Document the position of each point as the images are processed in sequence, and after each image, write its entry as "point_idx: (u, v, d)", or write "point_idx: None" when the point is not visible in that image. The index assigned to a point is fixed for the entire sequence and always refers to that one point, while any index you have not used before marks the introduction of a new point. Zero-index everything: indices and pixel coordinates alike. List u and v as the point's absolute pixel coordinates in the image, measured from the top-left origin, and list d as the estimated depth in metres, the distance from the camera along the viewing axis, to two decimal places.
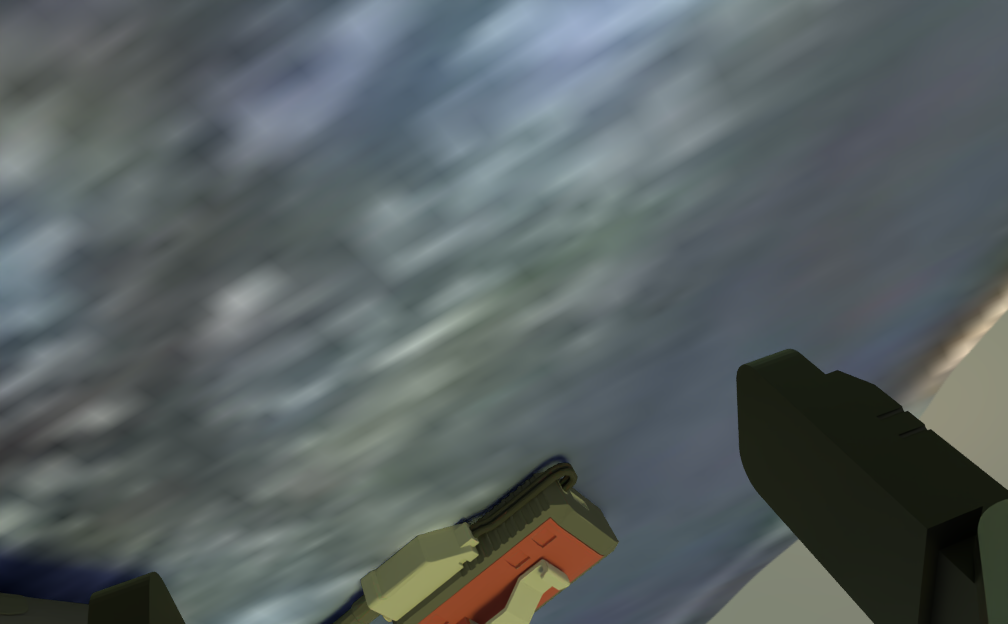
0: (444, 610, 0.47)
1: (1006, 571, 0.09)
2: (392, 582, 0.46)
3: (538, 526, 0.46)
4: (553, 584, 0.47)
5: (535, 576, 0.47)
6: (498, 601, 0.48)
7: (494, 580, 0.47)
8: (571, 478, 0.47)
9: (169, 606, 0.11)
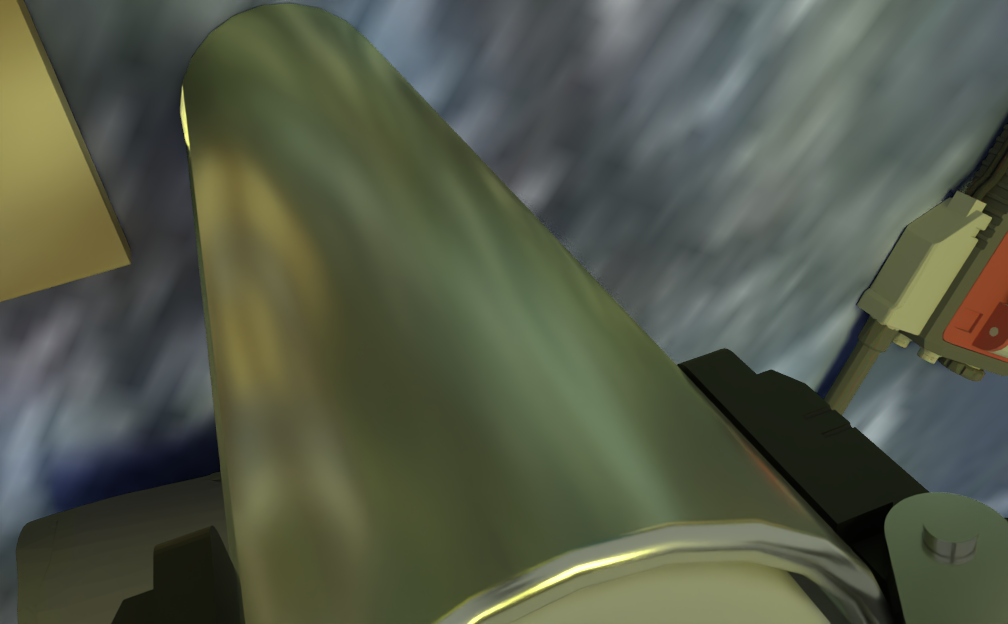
0: (973, 300, 0.39)
1: (915, 570, 0.09)
2: (900, 286, 0.39)
3: None
4: None
5: None
6: None
7: None
8: None
9: (226, 559, 0.12)
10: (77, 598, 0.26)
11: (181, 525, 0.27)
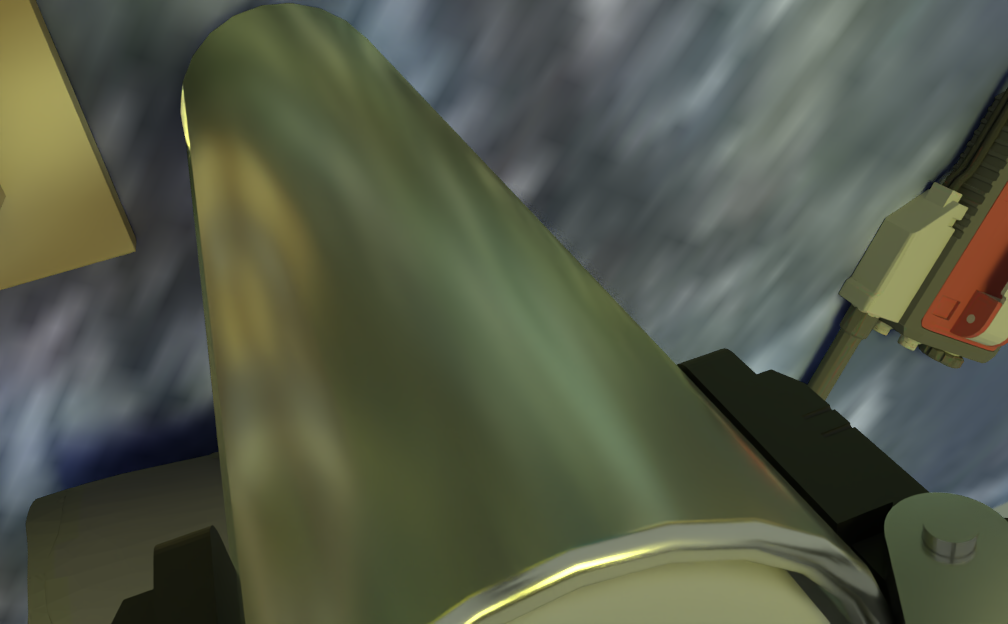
0: (951, 288, 0.40)
1: (915, 570, 0.09)
2: (879, 275, 0.40)
3: None
4: None
5: None
6: None
7: (998, 230, 0.39)
8: None
9: (225, 559, 0.12)
10: (84, 567, 0.27)
11: (183, 500, 0.29)
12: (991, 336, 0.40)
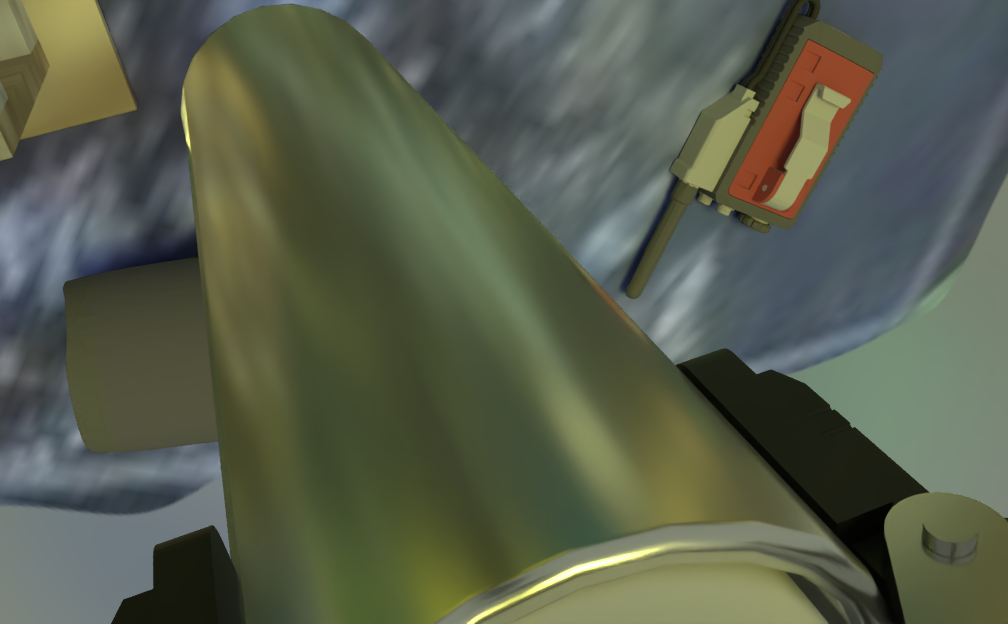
0: (749, 163, 0.53)
1: (915, 570, 0.09)
2: (695, 153, 0.53)
3: (801, 51, 0.51)
4: (835, 102, 0.52)
5: (816, 103, 0.52)
6: (793, 143, 0.53)
7: (781, 119, 0.52)
8: (814, 3, 0.51)
9: (226, 559, 0.12)
10: (103, 311, 0.40)
11: (170, 275, 0.42)
12: (780, 201, 0.54)
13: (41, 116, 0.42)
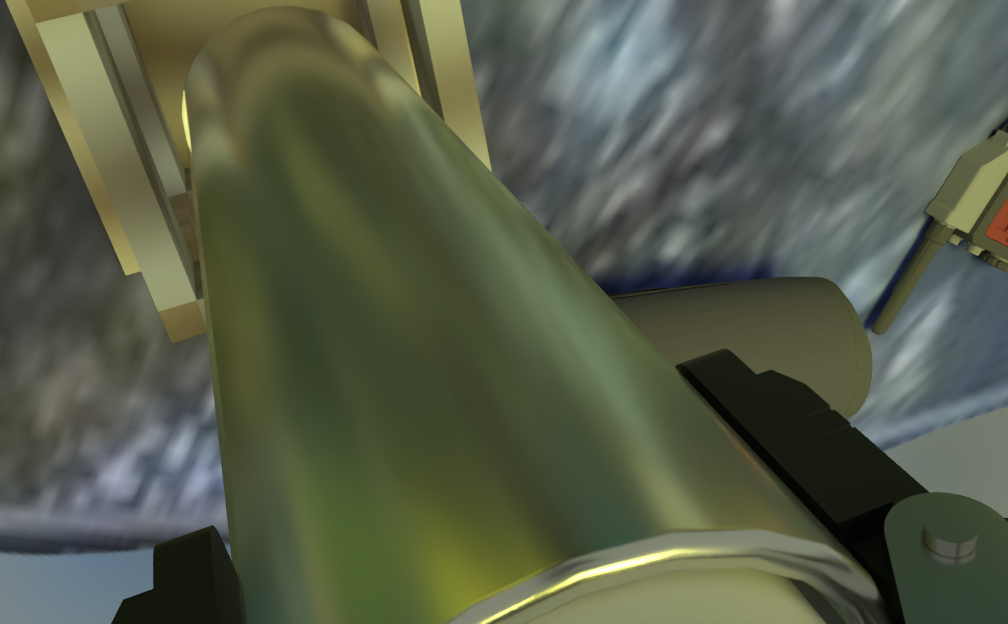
0: None
1: (915, 570, 0.09)
2: (957, 196, 0.55)
3: None
4: None
5: None
6: None
7: None
8: None
9: (226, 559, 0.12)
10: None
11: None
12: None
13: None
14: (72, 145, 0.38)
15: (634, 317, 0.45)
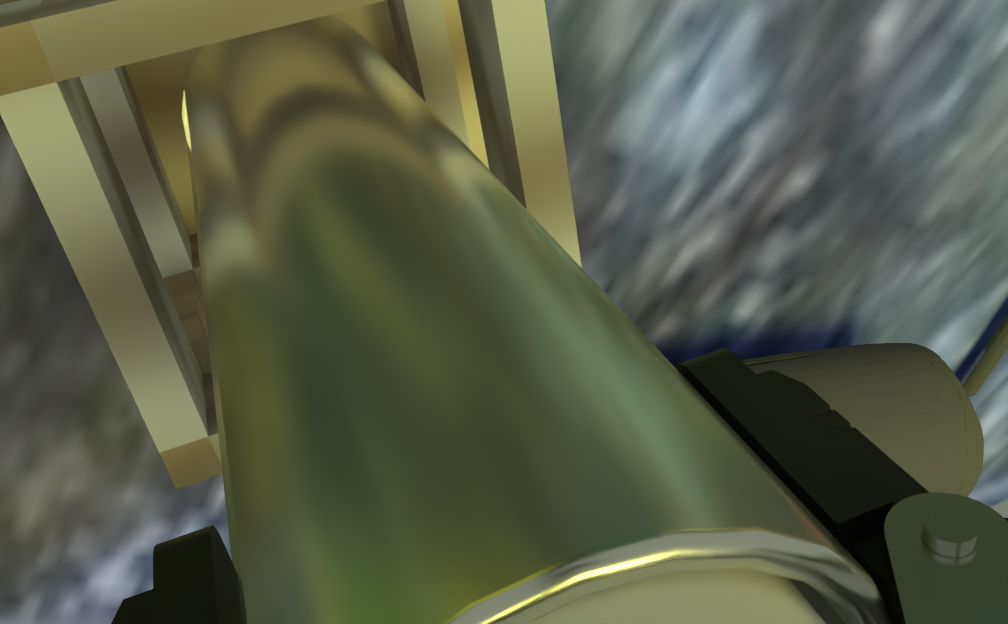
0: None
1: (915, 570, 0.09)
2: None
3: None
4: None
5: None
6: None
7: None
8: None
9: (226, 559, 0.12)
10: None
11: None
12: None
13: None
14: None
15: None
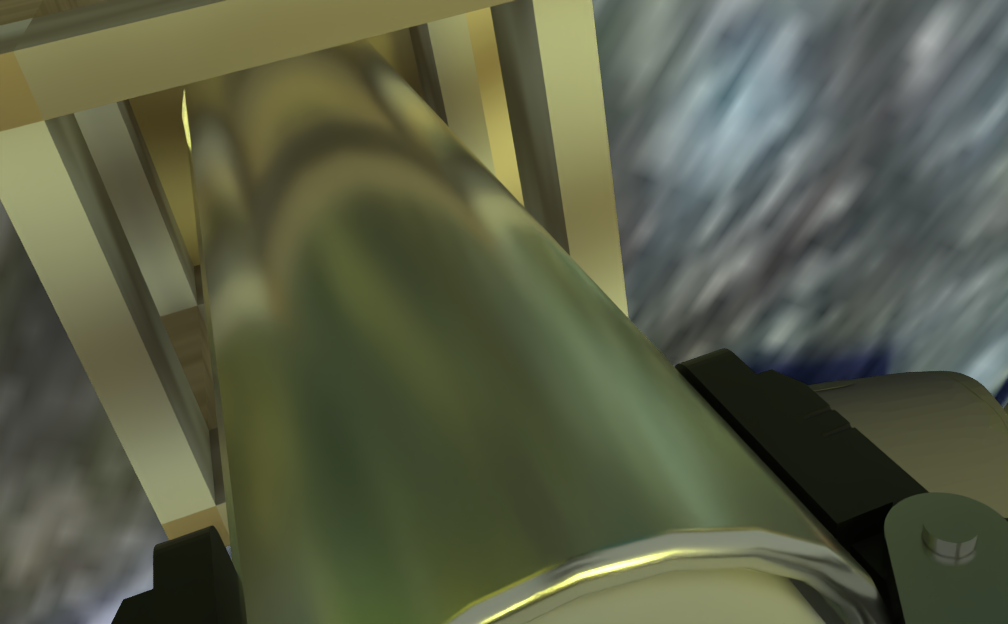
0: None
1: (916, 570, 0.09)
2: None
3: None
4: None
5: None
6: None
7: None
8: None
9: (226, 559, 0.12)
10: None
11: None
12: None
13: None
14: None
15: None
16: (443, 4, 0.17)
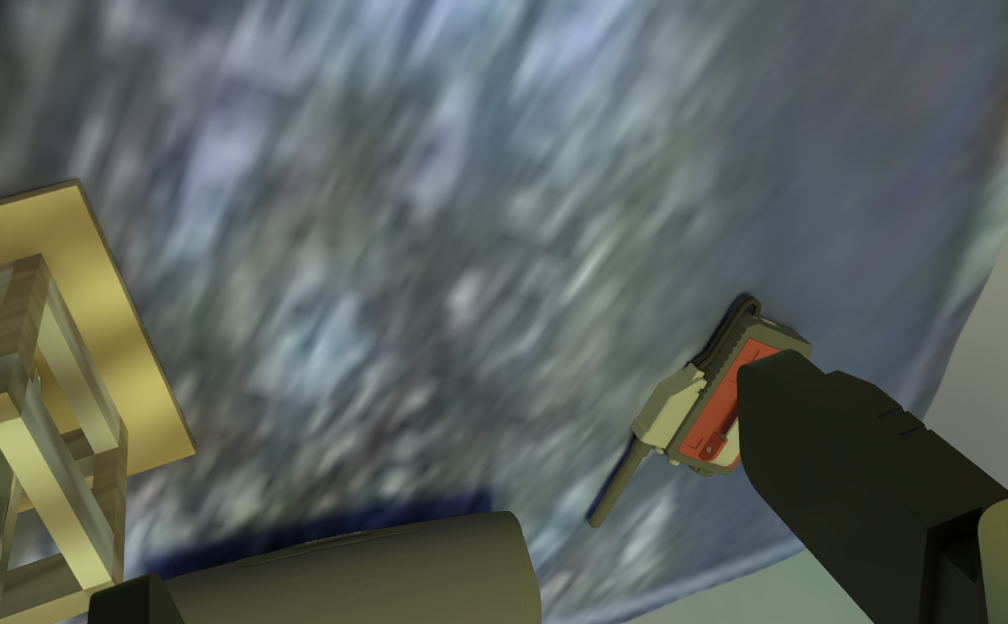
0: (696, 429, 0.63)
1: (1006, 571, 0.09)
2: (652, 419, 0.63)
3: (743, 346, 0.61)
4: None
5: None
6: (734, 413, 0.64)
7: (725, 396, 0.63)
8: (756, 305, 0.62)
9: (169, 606, 0.11)
10: None
11: (223, 593, 0.52)
12: (721, 461, 0.64)
13: None
14: None
15: (324, 574, 0.54)
16: None
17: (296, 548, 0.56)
